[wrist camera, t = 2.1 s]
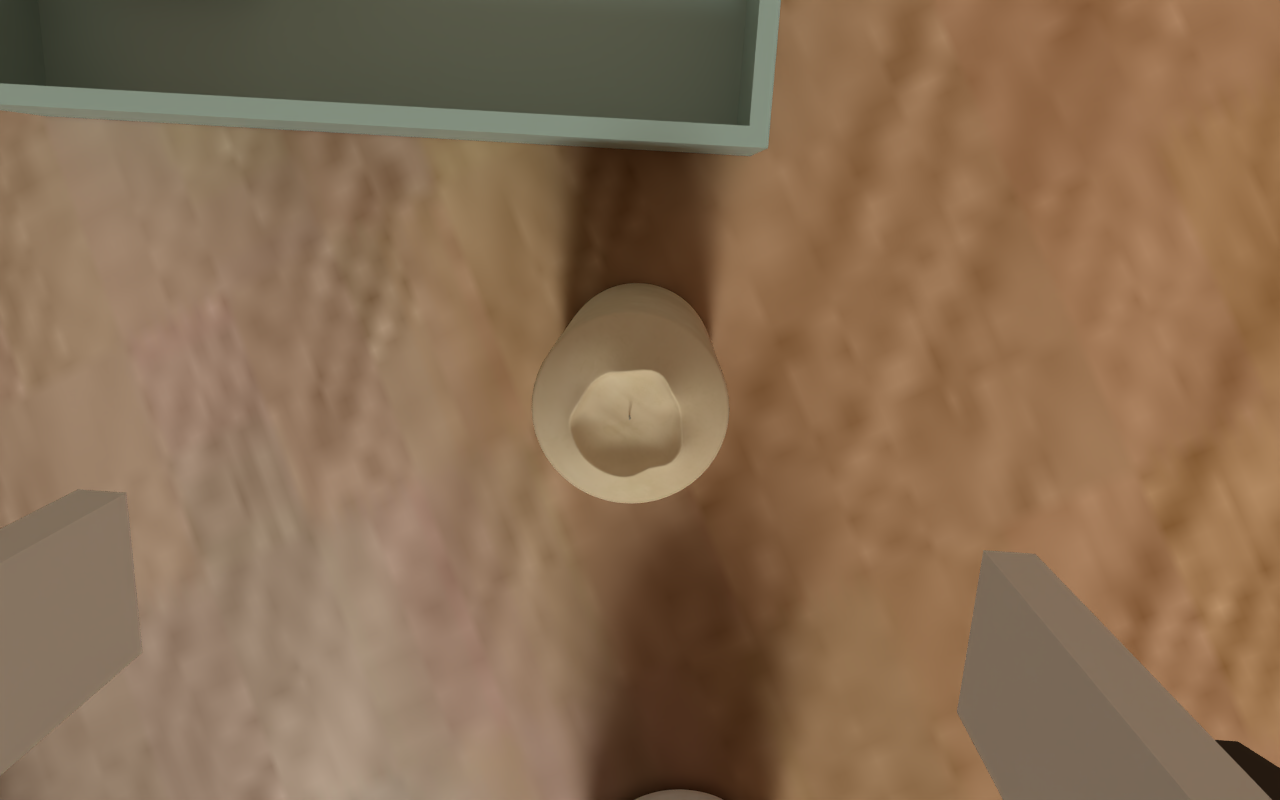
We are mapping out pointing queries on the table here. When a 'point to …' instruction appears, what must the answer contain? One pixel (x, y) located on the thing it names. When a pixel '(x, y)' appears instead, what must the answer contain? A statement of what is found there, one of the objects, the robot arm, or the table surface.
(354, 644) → the table surface
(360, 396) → the table surface
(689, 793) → the pill bottle
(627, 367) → the candle
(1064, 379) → the table surface
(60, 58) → the tote
